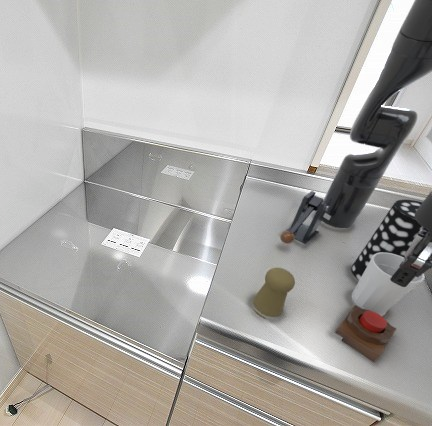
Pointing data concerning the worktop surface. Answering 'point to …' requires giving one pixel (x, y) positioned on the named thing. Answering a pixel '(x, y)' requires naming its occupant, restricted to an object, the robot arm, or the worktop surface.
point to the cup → (381, 284)
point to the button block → (364, 335)
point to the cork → (273, 292)
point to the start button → (373, 321)
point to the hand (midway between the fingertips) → (398, 282)
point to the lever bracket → (308, 233)
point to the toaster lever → (301, 220)
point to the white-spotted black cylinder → (391, 234)
